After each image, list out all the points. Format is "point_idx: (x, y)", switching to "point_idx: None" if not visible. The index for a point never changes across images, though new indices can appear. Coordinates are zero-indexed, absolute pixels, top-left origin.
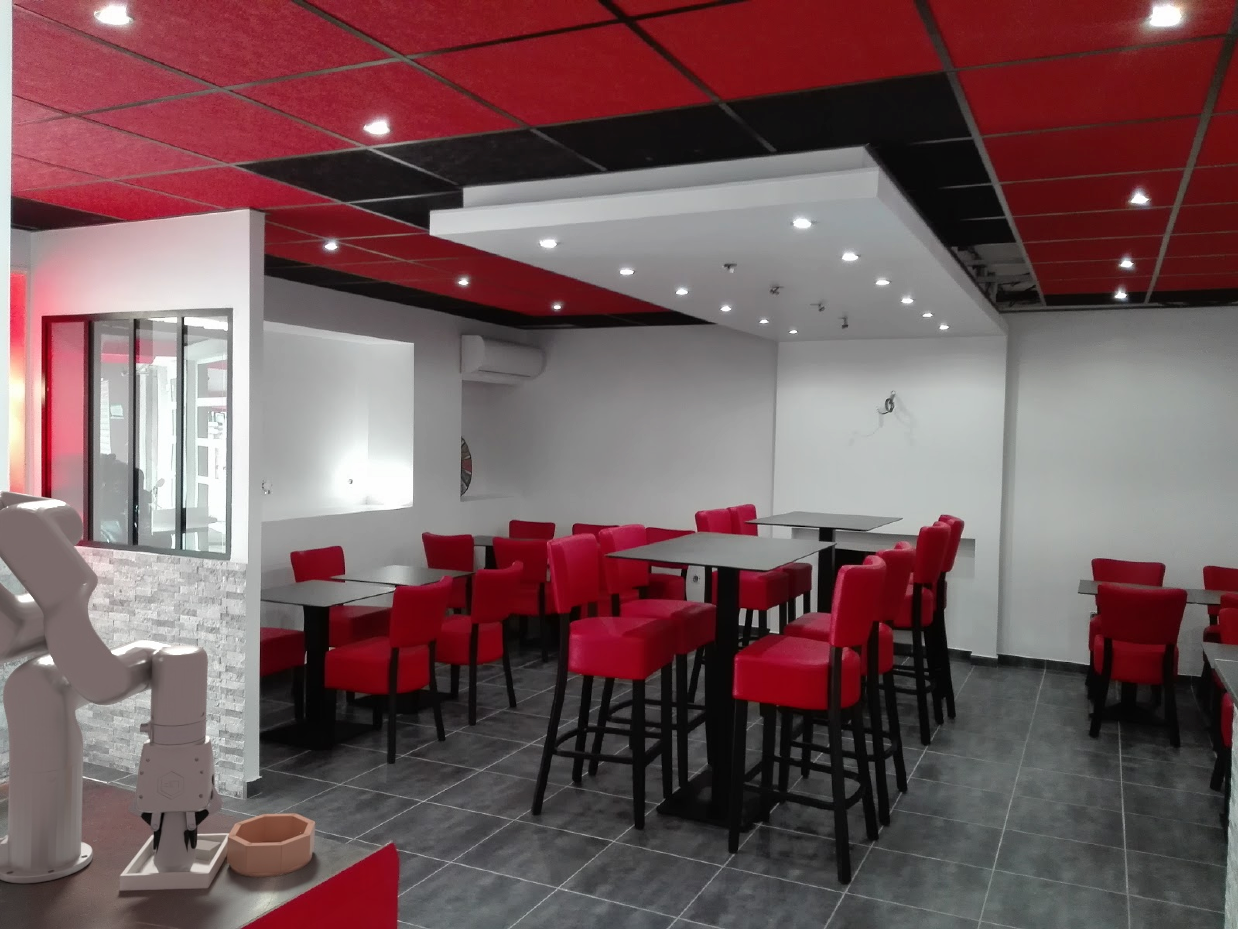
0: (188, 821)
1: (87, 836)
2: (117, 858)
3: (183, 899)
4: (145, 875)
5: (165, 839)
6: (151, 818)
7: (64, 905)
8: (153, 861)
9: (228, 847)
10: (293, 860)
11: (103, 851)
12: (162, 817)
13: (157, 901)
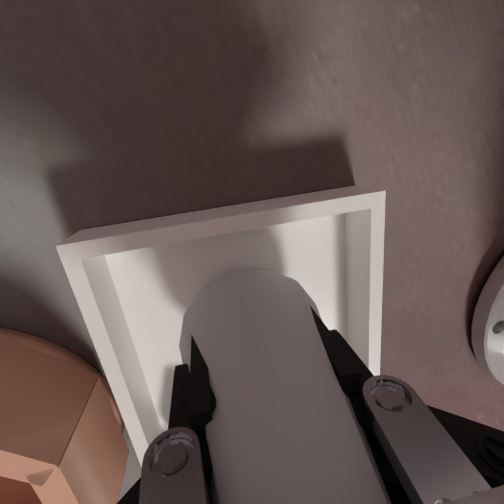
0: (191, 486)
1: (497, 425)
2: (416, 356)
3: (125, 142)
4: (300, 205)
5: (296, 345)
6: (450, 448)
7: (478, 80)
8: None
9: (68, 420)
10: None
11: (453, 379)
12: (386, 485)
13: (210, 122)
